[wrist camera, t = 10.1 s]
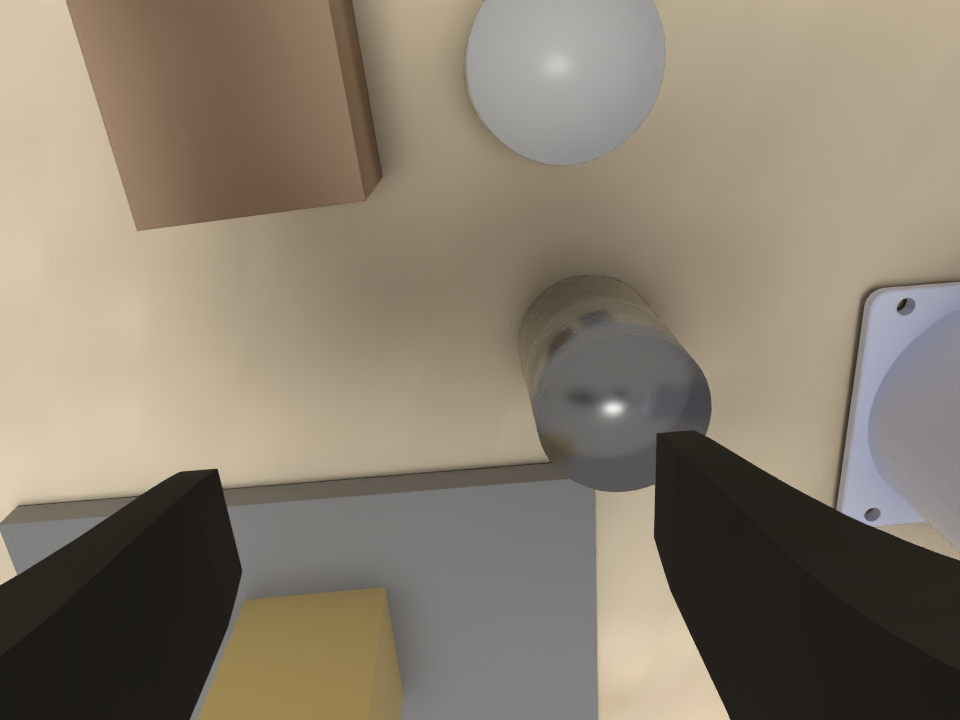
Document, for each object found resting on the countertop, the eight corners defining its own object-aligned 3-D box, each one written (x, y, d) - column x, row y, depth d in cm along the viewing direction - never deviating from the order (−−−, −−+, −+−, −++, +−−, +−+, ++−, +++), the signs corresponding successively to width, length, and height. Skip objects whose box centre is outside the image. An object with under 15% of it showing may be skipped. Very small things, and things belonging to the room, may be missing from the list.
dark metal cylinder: (655, 269, 20) (716, 327, 15) (652, 396, 22) (707, 484, 17) (514, 280, 20) (533, 342, 15) (522, 407, 22) (541, 498, 17)
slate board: (588, 460, 22) (594, 476, 21) (593, 735, 27) (598, 760, 26) (17, 506, 22) (-2, 525, 21) (118, 775, 27) (106, 800, 26)
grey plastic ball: (628, -18, 17) (677, -47, 14) (612, 152, 19) (652, 167, 15) (465, -24, 17) (469, -56, 13) (462, 147, 19) (464, 162, 15)
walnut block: (346, -34, 17) (316, -65, 13) (382, 176, 19) (365, 200, 15) (143, -6, 17) (56, -29, 13) (199, 200, 19) (136, 231, 15)
